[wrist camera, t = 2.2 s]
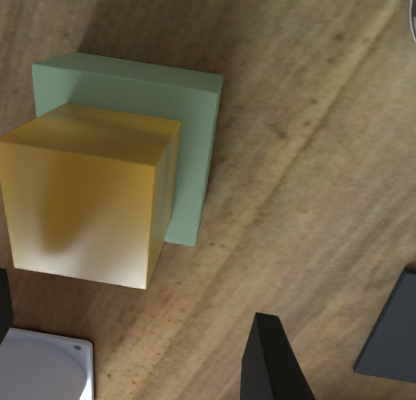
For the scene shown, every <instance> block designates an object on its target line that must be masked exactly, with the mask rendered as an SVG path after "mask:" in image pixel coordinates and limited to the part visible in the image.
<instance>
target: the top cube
mask: <svg viewBox="0 0 416 400" xmlns="http://www.w3.org/2000/svg"><path fill="white" fill-rule="evenodd" d="M180 129H181V121H177V120H171V119H165V118H159V117H153V116H146V115H140V114H134V113H128V112H122V111H115V110H109V109H103V108H97V107H90V106H84V105H78V104H72V103H64V104H62V105H60V106H58V107H57V108H55V109H53V110H51V111H49V112H47V113H45V114H43V115H41V116H39V117H37V118H35V119H33V120H31V121H30V122H28V123H26V124H24V125H22V126H20V127H18V128H16V129H14V130H12V131H10V132H8V133H6V134H4V135H3V136H1V137H0V183H1V189H2V195H3V202H4V208H5V214H6V220H7V227H8V233H9V239H10V245H11V251H12V258H13V264H14V267H15V268H18V269H24V270H30V271H36V272H42V273H48V274H54V275H60V276H66V277H72V278H78V279H84V280H90V281H96V282H102V283H108V284H114V285H120V286H126V287H132V288H138V289H144V290H146V289H147V288H148V285H149V282H150V280H151V277H152V274H153V271H154V268H155V265H156V262H157V259H158V256H159V253H160V251H161V248H162V245H163V242H164V239H165V236H166V233H167V230H168V227H169V224H170V222H171V216H172V207H173V197H174V187H175V177H176V168H177V158H178V148H179V139H180Z"/></svg>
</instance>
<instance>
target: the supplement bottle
mask: <svg viewBox="0 0 416 400" xmlns="http://www.w3.org/2000/svg"><path fill="white" fill-rule="evenodd" d="M409 20H410V27H411V31H412V34H413V37H414V40H415V42H416V0H410V7H409Z"/></svg>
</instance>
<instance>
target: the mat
mask: <svg viewBox="0 0 416 400" xmlns="http://www.w3.org/2000/svg"><path fill="white" fill-rule="evenodd" d="M353 370H354V373H359V374H365V375H371V376H377V377H383V378H388V379H394V380H400V381H406V382H412V383H416V271H415V270H409V269H404V270H403V272H402V274H401V276H400V278H399V279H398V281H397V283H396V285H395V287H394V289H393V291H392V293H391V295H390V297H389V299H388V301H387V303H386V305H385V307H384V309H383V310H382V312H381V314H380V316H379V318H378V320H377V322H376V324H375V326H374V328H373V330H372V332H371V334H370V336H369V338H368V340H367V341H366V343H365V345H364V347H363V349H362V351H361V353H360V355H359V357H358V359H357V361H356V363H355V365H354V367H353Z"/></svg>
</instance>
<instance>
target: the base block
mask: <svg viewBox="0 0 416 400" xmlns="http://www.w3.org/2000/svg"><path fill="white" fill-rule="evenodd" d="M31 67H32V77H33V87H34V98H35V108H36V118H37V117H39V116H41V115H43V114H45V113H47V112H49V111H51V110H53V109H55V108H57V107H58V106H60V105H62V104H64V103H72V104H78V105H84V106H90V107H97V108H103V109H109V110H115V111H122V112H128V113H134V114H140V115H146V116H153V117H159V118H165V119H171V120H177V121H181V129H180V139H179V148H178V158H177V168H176V177H175V187H174V197H173V207H172V216H171V222H170V224H169V227H168V230H167V233H166V236H165V239H164V241H165V242H171V243H177V244H183V245H189V246H196V244H197V239H198V234H199V229H200V224H201V219H202V214H203V209H204V203H205V197H206V190H207V184H208V177H209V171H210V164H211V157H212V151H213V144H214V138H215V131H216V125H217V118H218V111H219V105H220V98H221V92H222V85H223V79H224V76H223V75H219V74H212V73H206V72H200V71H193V70H187V69H181V68H175V67H168V66H162V65H156V64H149V63H143V62H137V61H131V60H124V59H118V58H112V57H106V56H99V55H93V54H87V53H80V52H74V53H70V54H66V55H62V56H58V57H54V58H50V59H46V60H42V61H38V62H34V63H32V64H31Z"/></svg>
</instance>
